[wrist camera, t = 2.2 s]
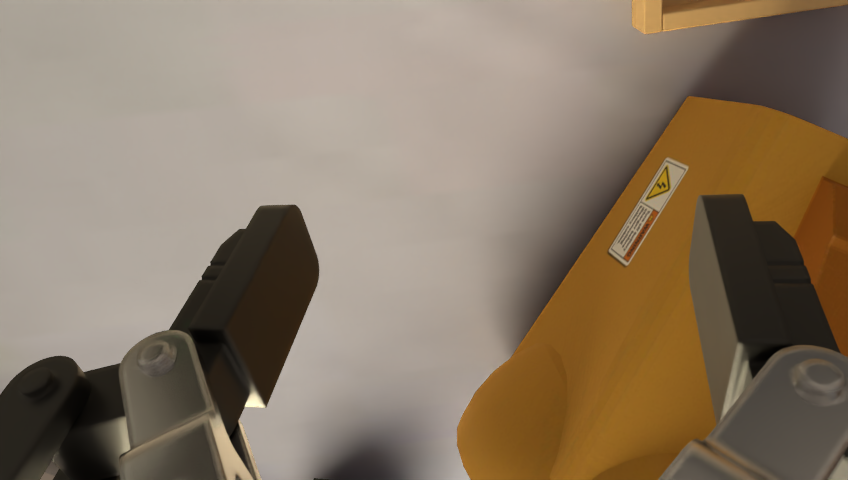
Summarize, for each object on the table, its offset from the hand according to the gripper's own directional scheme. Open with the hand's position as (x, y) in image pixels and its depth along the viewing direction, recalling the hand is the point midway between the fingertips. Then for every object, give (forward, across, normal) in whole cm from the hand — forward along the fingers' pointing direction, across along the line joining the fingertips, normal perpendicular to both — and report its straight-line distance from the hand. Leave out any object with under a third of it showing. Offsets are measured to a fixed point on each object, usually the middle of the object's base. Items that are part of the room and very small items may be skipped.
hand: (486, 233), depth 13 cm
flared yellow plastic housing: (+18, -6, +18) cm, 27 cm away
